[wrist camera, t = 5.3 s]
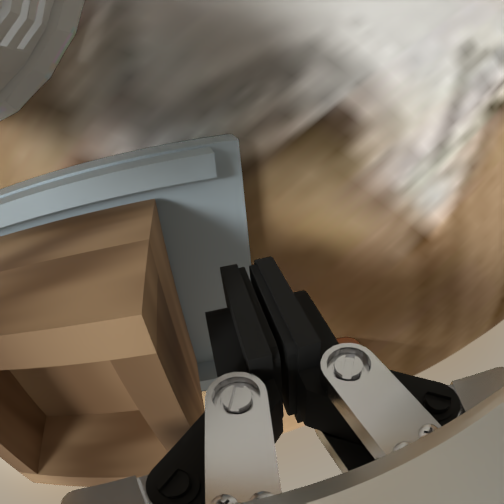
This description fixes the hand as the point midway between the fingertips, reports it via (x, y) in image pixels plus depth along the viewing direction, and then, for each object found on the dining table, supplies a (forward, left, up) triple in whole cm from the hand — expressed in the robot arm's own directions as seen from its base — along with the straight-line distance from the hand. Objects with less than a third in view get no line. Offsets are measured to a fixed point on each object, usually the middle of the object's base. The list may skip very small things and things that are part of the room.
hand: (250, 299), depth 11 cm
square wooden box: (+6, +1, -2) cm, 7 cm away
